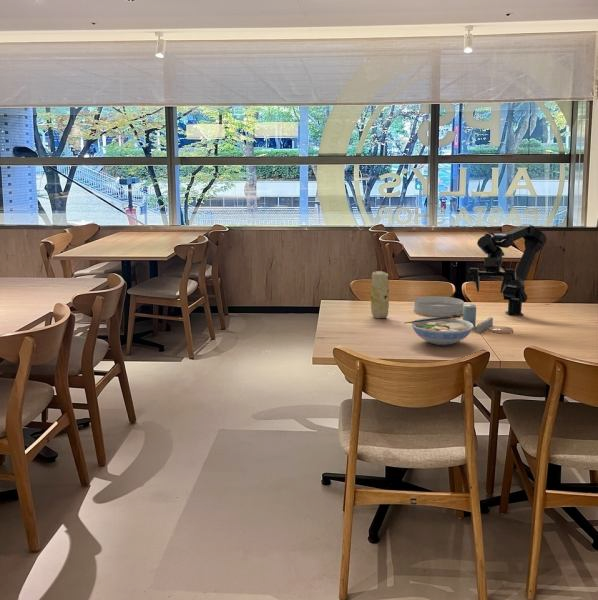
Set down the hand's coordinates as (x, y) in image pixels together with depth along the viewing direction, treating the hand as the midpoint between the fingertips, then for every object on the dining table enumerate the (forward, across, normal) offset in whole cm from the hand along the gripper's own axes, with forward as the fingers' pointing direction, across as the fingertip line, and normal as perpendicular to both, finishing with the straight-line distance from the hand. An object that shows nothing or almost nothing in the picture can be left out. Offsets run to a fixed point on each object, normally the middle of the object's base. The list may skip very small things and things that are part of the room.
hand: (489, 292), depth 275 cm
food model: (+11, -46, +6) cm, 48 cm away
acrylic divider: (+14, -1, +5) cm, 15 cm away
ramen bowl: (+33, -11, -18) cm, 39 cm away
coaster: (+15, +6, +4) cm, 17 cm away
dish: (-2, -26, +24) cm, 35 cm away
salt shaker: (+14, -7, +5) cm, 16 cm away
